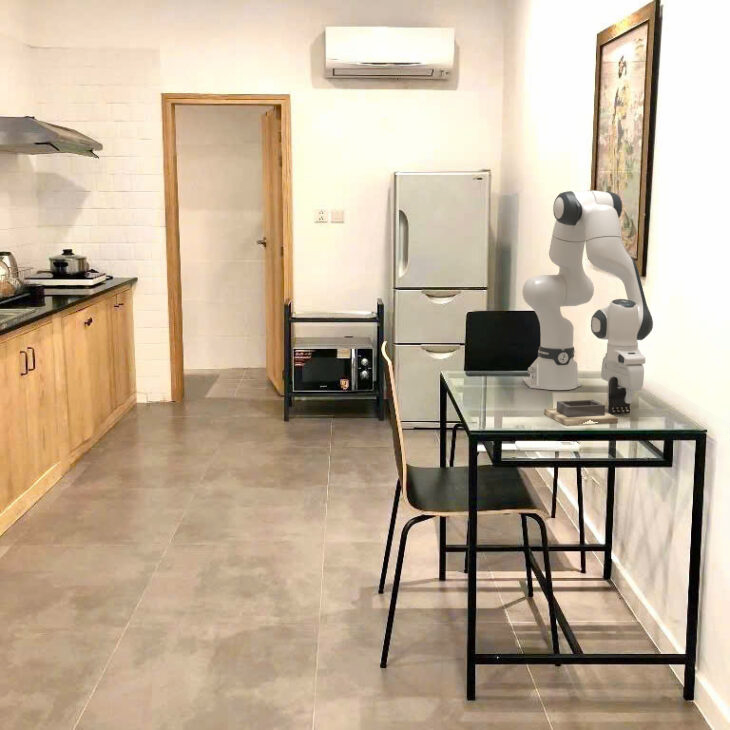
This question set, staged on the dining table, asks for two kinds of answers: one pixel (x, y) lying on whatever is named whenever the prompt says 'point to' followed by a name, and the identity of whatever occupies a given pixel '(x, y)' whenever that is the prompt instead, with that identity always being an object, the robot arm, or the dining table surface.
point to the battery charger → (616, 398)
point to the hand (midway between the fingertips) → (620, 399)
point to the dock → (580, 412)
